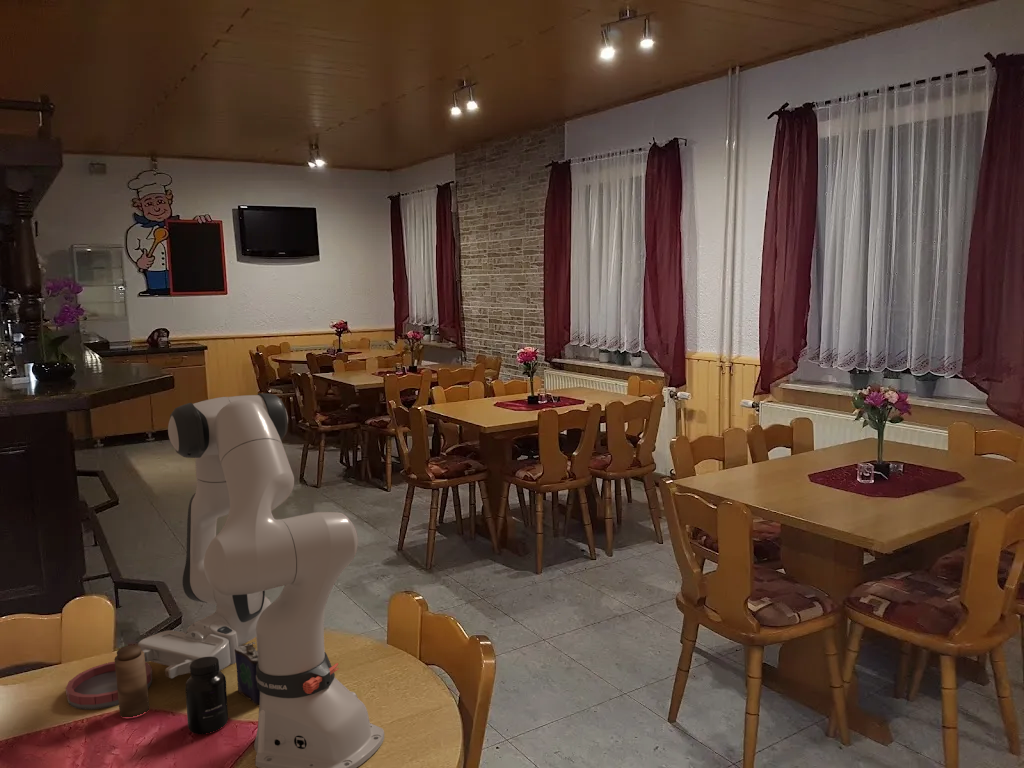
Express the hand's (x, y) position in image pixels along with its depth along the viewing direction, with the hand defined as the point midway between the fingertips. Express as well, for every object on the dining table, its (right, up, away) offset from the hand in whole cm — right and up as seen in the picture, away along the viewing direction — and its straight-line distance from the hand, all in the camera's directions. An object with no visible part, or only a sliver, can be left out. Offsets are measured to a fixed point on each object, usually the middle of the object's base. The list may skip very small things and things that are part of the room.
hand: (150, 669), depth 149 cm
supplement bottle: (+15, -7, -8) cm, 18 cm away
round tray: (-11, -6, +6) cm, 14 cm away
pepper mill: (-2, -7, -3) cm, 8 cm away
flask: (+19, -6, +1) cm, 20 cm away
